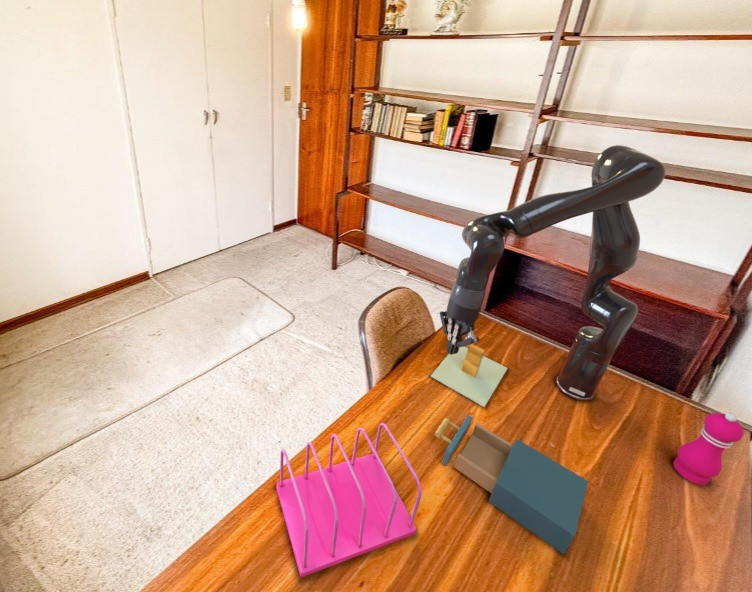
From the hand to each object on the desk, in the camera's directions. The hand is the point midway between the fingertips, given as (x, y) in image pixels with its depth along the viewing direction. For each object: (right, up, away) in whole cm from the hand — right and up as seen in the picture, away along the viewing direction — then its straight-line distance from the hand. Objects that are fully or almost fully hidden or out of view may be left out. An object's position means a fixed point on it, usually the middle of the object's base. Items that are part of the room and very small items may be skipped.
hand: (451, 352), depth 105 cm
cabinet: (+12, -28, -17) cm, 35 cm away
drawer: (+1, -23, -9) cm, 24 cm away
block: (+12, -11, +16) cm, 23 cm away
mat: (+12, -11, +17) cm, 24 cm away
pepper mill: (+54, -26, -10) cm, 61 cm away
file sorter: (-31, -28, -20) cm, 47 cm away
